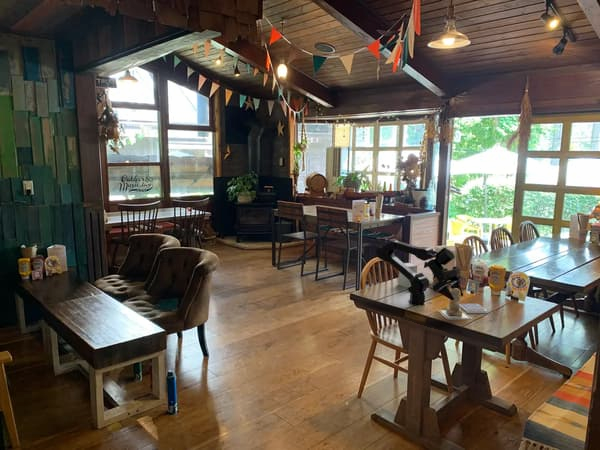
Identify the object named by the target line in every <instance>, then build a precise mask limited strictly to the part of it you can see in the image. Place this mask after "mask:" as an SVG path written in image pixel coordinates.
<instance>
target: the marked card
mask: <svg viewBox="0 0 600 450" xmlns="http://www.w3.org/2000/svg"><path fill="white" fill-rule="evenodd" d="M437 312H439V313H440V314H441V315H442V316H443V317H444V318H445V319H447V320H473V318H472V317H471V316H470V315H468V313H466V312H465V311H464V310H462V316H461V317H460V316H449V315H448V313H447V311H446V309H437Z"/></svg>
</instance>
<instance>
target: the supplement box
mask: <svg viewBox="0 0 600 450" xmlns="http://www.w3.org/2000/svg"><path fill="white" fill-rule="evenodd" d="M403 263H404V264H405V265H406V266H408V267H409V268H410V269H411V270H412V271H413V272H415V273H416V274H418V265H417V264H414V263H410V262H403ZM397 281H398V282H397V283H398V284H397V285H398V286H401V287H402V288H406V289H408V288H409V287H410V286H412V285H411V284H410V281H409V280H408V279H407V278H406V277H405V276H404V275H403V274H401V273H400V272H399V271H398V278H397Z"/></svg>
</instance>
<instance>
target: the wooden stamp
mask: <svg viewBox="0 0 600 450" xmlns="http://www.w3.org/2000/svg"><path fill="white" fill-rule="evenodd" d="M450 292H451V294H452V296H453V297H454V300H453V301H452V300H450V299H449V306H446V308H445V310H446V311H447V313H448V315H449V316H460V317H461V316H462V311H463V310H462V309H461V308H460V304H461V297H462V296H461V292H460V290H459V289H458V288H454V289H452V288H451V290H450Z"/></svg>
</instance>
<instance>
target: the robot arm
mask: <svg viewBox="0 0 600 450" xmlns="http://www.w3.org/2000/svg"><path fill="white" fill-rule="evenodd" d="M396 250H397V251H401V252H403V253H407V254H410V255H413V256H415V257H416V258H417V259H418V260H421V261H424V264H423V268H424V269H426V268H428V269H429V270H430V271H431V274H432V273H433V274H434V276H433V275H432V278H433V277H434V278H435V277H436V278H437V280H438V281H439V282H438V283H436V284H435V285H434V286H433V289H432V290H433V291H434V292H435V293H437V294H438V293H439V294H440V295H442V296H444V297H445V298H448V299H449V301H450V300H452V301H453V300H454V297H453V296H452V294H451V290H452V289H454V288H458V289H459V290H460V292H461V296H460V297H463V296H464V293H463V289H462V286H461V281H462V277H461V268H460V267H458V265H455V266H452V269H448V268H445V267H444V266H446V265H447V264H449V263H451V261H453V260H454V259H455V254H454V252H453V251H451V250H450V249H448V248H447V247H443V248H441V249H440V250H438V251H439V252H436V251H437V250H434V249H433V248H432V247H428V246H416V245H413V244H409V243H407V242H403V241H399V240H396V239H395V240H392V241H390V242H389V243H387V244H385V245H384V246H381V247H378V248H376V250H375V255H376V257H377V259H380V260H381V261H383V262H385V263H389V264H390V265H391V266H392V267H393V268H395V269H396V270H397V271H398V273H399V272H400V273H401V274H403V275H404V276H405V277H406V278H407V279H408V280H409V281H410V284H411V285H412V286H410V287H408V288H407V289H408V293H410V294H409V299H408V302H409V303H410V304H411V306H425V305H426V304H425V302H426V295H425V292H426V291H427V289H429V285H430V283H431V282H430V280H429V278H428V276H426V275H424V274H423V273H422V272H420V273H419V272H418V273H417V274H416V273H415V272H413V271H412V270H411V269H410V268H409V267H408V266H406V265H405V264H404V263H405V262H403V261H401V259H399V257H397V256H396V254H395V251H396ZM435 257H436V258H435ZM449 288H451V290H450V289H449Z"/></svg>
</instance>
